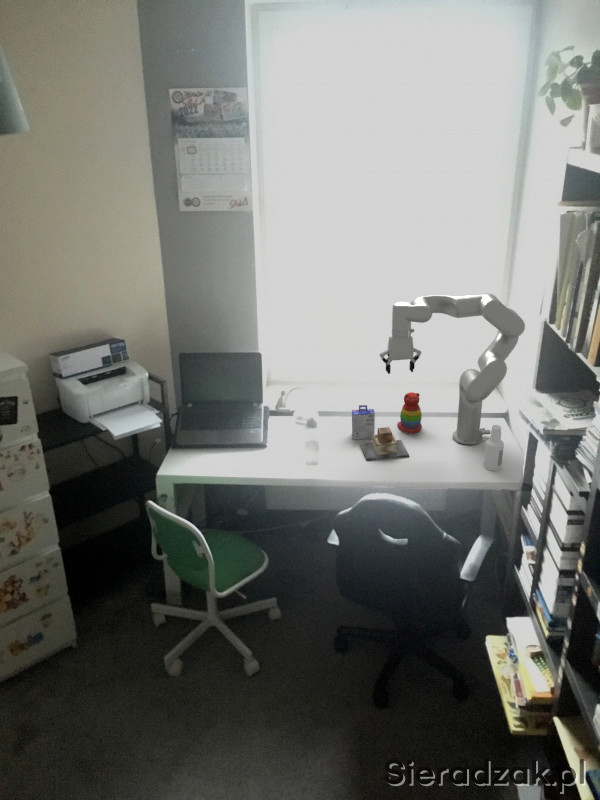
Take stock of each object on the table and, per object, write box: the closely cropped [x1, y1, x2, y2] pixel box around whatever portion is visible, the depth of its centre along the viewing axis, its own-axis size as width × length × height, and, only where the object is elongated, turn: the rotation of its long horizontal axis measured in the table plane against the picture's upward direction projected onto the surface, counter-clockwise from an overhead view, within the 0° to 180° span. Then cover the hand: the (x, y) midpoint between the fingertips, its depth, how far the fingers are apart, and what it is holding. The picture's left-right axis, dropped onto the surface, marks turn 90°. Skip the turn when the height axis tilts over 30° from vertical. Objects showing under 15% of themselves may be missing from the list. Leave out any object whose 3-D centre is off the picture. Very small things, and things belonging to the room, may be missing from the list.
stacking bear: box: [396, 391, 423, 434], centre depth 284 cm, size 11×10×18 cm
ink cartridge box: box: [351, 404, 376, 440], centre depth 280 cm, size 10×6×14 cm, turn 89°
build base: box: [359, 433, 410, 462], centre depth 269 cm, size 18×13×6 cm
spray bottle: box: [483, 424, 505, 472], centre depth 253 cm, size 7×7×18 cm
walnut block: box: [377, 426, 393, 443], centre depth 267 cm, size 5×5×5 cm
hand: (399, 371), depth 265 cm, fingers open, 9 cm apart
